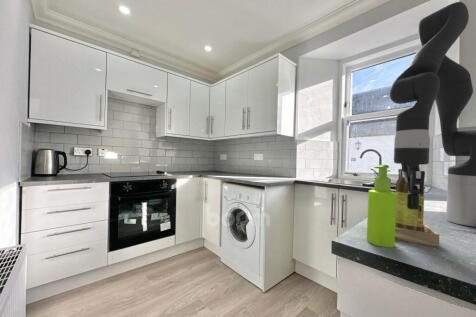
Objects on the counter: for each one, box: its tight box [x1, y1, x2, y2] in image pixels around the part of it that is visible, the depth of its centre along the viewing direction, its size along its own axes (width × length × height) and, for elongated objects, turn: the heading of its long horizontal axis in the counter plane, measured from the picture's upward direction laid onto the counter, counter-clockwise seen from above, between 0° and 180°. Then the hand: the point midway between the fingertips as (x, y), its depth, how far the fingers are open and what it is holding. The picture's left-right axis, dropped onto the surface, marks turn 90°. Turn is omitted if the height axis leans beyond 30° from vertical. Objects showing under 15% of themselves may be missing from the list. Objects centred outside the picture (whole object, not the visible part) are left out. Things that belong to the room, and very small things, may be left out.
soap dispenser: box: [366, 164, 397, 248], centre depth 51 cm, size 6×7×20 cm
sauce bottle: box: [394, 164, 425, 232], centre depth 57 cm, size 6×6×20 cm
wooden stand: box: [395, 223, 440, 248], centre depth 57 cm, size 9×10×3 cm
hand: (408, 206), depth 57 cm, fingers closed on sauce bottle, 6 cm apart
